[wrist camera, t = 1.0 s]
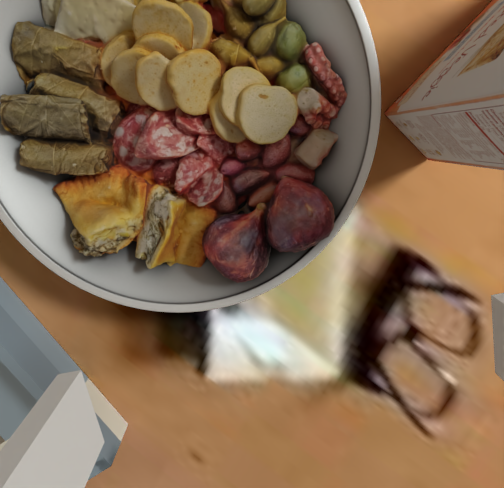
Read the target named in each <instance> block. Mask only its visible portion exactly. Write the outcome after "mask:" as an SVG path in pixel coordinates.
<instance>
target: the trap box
mask: <svg viewBox="0 0 504 488" xmlns="http://www.w3.org/2000/svg"><path fill="white" fill-rule="evenodd" d="M78 370H81V369H80V368H79V367H78V366H77V365H76V363H75V362H74V361H73V360H72V359H71V358H70V356H69V355H68V354H67V353H66V352H65V351H64V350H63V348H62V347H61V346H60V345H59V344H58V343H57V341H56V340H55V339H54V338H53V337H52V336H51V335H50V333H49V332H48V331H47V330H46V329H45V328H44V327H43V325H42V324H41V323H40V322H39V321H38V320H37V318H36V317H35V316H34V315H33V314H32V313H31V312H30V310H29V309H28V308H27V307H26V306H25V305H24V303H23V302H22V301H21V300H20V299H19V298H18V297H17V295H16V294H15V293H14V292H13V291H12V290H11V289H10V287H9V286H8V285H7V284H6V283H5V282H4V280H3V279H2V278H1V277H0V451H1V449H2V448H3V447H4V445H5V444H6V443H7V441H8V440H9V439H10V437H11V436H12V435H13V433H14V432H15V431H16V429H17V428H18V427H19V425H20V424H21V423H22V421H23V420H24V419H25V417H26V416H27V415H28V413H29V412H30V411H31V409H32V408H33V407H34V405H35V404H36V403H37V401H38V400H39V399H40V397H41V396H42V395H43V393H44V392H45V391H46V389H47V388H48V387H49V385H50V384H51V383H52V381H53V380H54V379H55V377H56V376H57V375H58V374H62V373H67V372H73V371H78ZM81 371H82V370H81ZM82 374H83V378H84V381H85V384H86V387H87V390H88V393H89V396H90V399H91V402H92V405H93V408H94V411H95V414H96V417H97V420H98V423H99V426H100V429H101V432H102V435H103V438H104V444H103V447H102V449H101V451H100V453H99V456H98V458H97V460H96V463H95V465H94V467H93V469H92V472H91V474H90V476H89V478H88V480H89V479H91V478H92V477H94V476H96V475H97V474H99V473H100V472H102V471H104V470H105V469H107V468H109V467H110V466H111V465H112V463H113V460H114V458H115V455H116V453H117V450H118V448H119V446H120V443H121V441H122V438H123V436H124V433H125V431H126V428H127V426H128V423H127V422H126V421H125V420H124V419H123V417H122V416H121V415H120V414H119V413H118V412H117V411H116V409H115V408H114V407H113V406H112V405H111V404H110V403H109V401H108V400H107V399H106V398H105V397H104V396H103V394H102V393H101V392H100V391H99V390H98V389H97V388H96V386H95V385H94V384H93V383H92V382H91V381H90V379H89V378H88V377H87V376H86V375H85V374H84V373H83V371H82Z"/></svg>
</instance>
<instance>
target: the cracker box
mask: <svg viewBox="0 0 504 488" xmlns="http://www.w3.org/2000/svg"><path fill="white" fill-rule="evenodd" d="M385 115H386V116H387V117H388V118H389V119H390V120H391V121H392V122H393V124H394V125H395V126H396V127H397V128H398V129H399V130H400V131H401V132H402V133H403V134H404V135H405V136H406V137H407V138H408V139H409V140H410V141H411V142H412V143H413V144H414V145H415V146H416V147H417V148H418V149H419V151H420V152H421V153H422V154H423V155H424V156H425V157H426V158H427V159H428V160H432V161H439V162H447V163H454V164H461V165H469V166H476V167H483V168H491V169H499V170H504V0H492V1H491V2H490V3H489V4H488V5H487V7H486V8H485V9H484V10H483V11H482V12H481V13H480V14H479V15H478V16H477V17H476V18H475V19H474V20H473V21H472V22H471V23H470V24H469V25H468V26H467V27H466V28H465V30H464V31H463V32H462V33H461V34H460V35H459V36H458V37H457V38H456V39H455V40H454V41H453V42H452V43H451V44H450V45H449V46H448V47H447V48H446V49H445V50H444V51H443V52H442V53H441V54H440V55H439V57H438V58H437V59H436V60H435V61H434V62H433V63H432V64H431V65H430V66H429V67H428V68H427V69H426V70H425V71H424V72H423V73H422V74H421V75H420V76H419V77H418V78H417V79H416V80H415V82H414V83H413V84H412V85H411V86H410V87H409V88H408V89H407V90H406V91H405V92H404V93H403V94H402V95H401V96H400V97H399V98H398V99H397V100H396V101H395V102H394V103H393V104H392V106H391V107H390V108H389V109H388V110H387V111H386V112H385Z"/></svg>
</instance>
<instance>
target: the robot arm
mask: <svg viewBox="0 0 504 488" xmlns="http://www.w3.org/2000/svg"><path fill="white" fill-rule="evenodd" d="M491 300H492V319H493V339H494V358H495V373H496V374H497V375H498V376H499V377H500V378H501V379H502V380H503V381H504V293H501V294H495V295H491ZM103 444H104V438H103V435H102V432H101V429H100V426H99V423H98V420H97V417H96V414H95V411H94V408H93V405H92V402H91V399H90V396H89V393H88V390H87V387H86V384H85V381H84V378H83V374H82V371H81V370H78V371H73V372H67V373H62V374H58V375H57V376H56V377H55V379H54V380H53V381H52V383H51V384H50V385H49V387H48V388H47V389H46V391H45V392H44V393H43V395H42V396H41V397H40V399H39V400H38V401H37V403H36V404H35V405H34V407H33V408H32V409H31V411H30V412H29V413H28V415H27V416H26V417H25V419H24V420H23V421H22V423H21V424H20V425H19V427H18V428H17V429H16V431H15V432H14V433H13V435H12V436H11V437H10V439H9V440H8V441H7V443H6V444H5V445H4V447H3V448H2V449H1V451H0V488H84V487H85V485H86V483H87V481H88V478H89V476H90V474H91V472H92V469H93V467H94V465H95V463H96V460H97V458H98V456H99V453H100V451H101V449H102V447H103Z"/></svg>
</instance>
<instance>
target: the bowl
mask: <svg viewBox="0 0 504 488" xmlns="http://www.w3.org/2000/svg"><path fill="white" fill-rule="evenodd" d="M380 118H381V83H380V72H379V65H378V59H377V54H376V49H375V45H374V41H373V37H372V34H371V30H370V27H369V24H368V21H367V18H366V16H365V13H364V11H363V8H362V6H361V4H360V1H359V0H0V220H1V221H2V222H3V223H4V225H5V226H6V227H7V229H8V230H9V231H10V232H11V233H12V235H13V236H14V237H15V238H16V239H17V240H18V241H19V242H20V243H21V244H22V245H23V246H24V247H25V248H26V249H27V250H28V251H29V252H30V253H31V254H32V255H33V256H34V257H35V258H36V259H37V260H39V261H40V262H41V263H42V264H44V265H45V266H46V267H47V268H49V269H50V270H51V271H53V272H54V273H56V274H57V275H59V276H60V277H62V278H63V279H65V280H66V281H68V282H70V283H71V284H73V285H75V286H77V287H79V288H80V289H82V290H85V291H87V292H89V293H91V294H93V295H95V296H98V297H100V298H103V299H105V300H108V301H111V302H114V303H117V304H121V305H125V306H128V307H133V308H138V309H143V310H149V311H158V312H177V313H180V312H198V311H206V310H212V309H218V308H222V307H227V306H230V305H234V304H237V303H241V302H243V301H246V300H249V299H252V298H254V297H256V296H259V295H261V294H263V293H265V292H267V291H269V290H271V289H273V288H275V287H276V286H278V285H280V284H282V283H283V282H285V281H286V280H288V279H289V278H291V277H292V276H294V275H295V274H296V273H298V272H299V271H300V270H302V269H303V268H304V267H305V266H307V265H308V264H309V263H310V262H311V261H312V260H313V259H314V258H316V257H317V256H318V255H319V254H320V253H321V252H322V251H323V250H324V248H325V247H326V246H327V245H328V244H329V243H330V242H331V240H332V239H333V238H334V237H335V235H336V234H337V233H338V232H339V230H340V229H341V227H342V226H343V224H344V223H345V221H346V220H347V218H348V217H349V215H350V213H351V212H352V210H353V208H354V207H355V205H356V203H357V201H358V199H359V197H360V195H361V192H362V190H363V188H364V185H365V183H366V180H367V178H368V175H369V172H370V169H371V166H372V162H373V159H374V155H375V150H376V146H377V141H378V135H379V128H380Z"/></svg>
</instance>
